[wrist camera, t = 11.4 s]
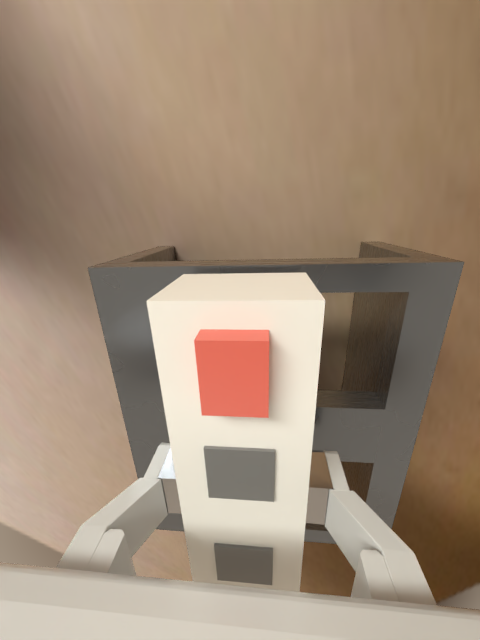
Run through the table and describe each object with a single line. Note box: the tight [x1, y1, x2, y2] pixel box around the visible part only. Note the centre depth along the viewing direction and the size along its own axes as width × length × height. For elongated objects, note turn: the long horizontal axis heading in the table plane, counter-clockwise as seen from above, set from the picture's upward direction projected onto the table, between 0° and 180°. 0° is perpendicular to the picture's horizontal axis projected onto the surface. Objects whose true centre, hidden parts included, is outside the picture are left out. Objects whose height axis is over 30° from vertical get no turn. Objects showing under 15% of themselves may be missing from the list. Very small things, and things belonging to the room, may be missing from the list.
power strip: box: [146, 272, 325, 592], centre depth 11 cm, size 4×15×7 cm, turn 2°
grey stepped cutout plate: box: [88, 242, 464, 544], centre depth 15 cm, size 13×15×7 cm
